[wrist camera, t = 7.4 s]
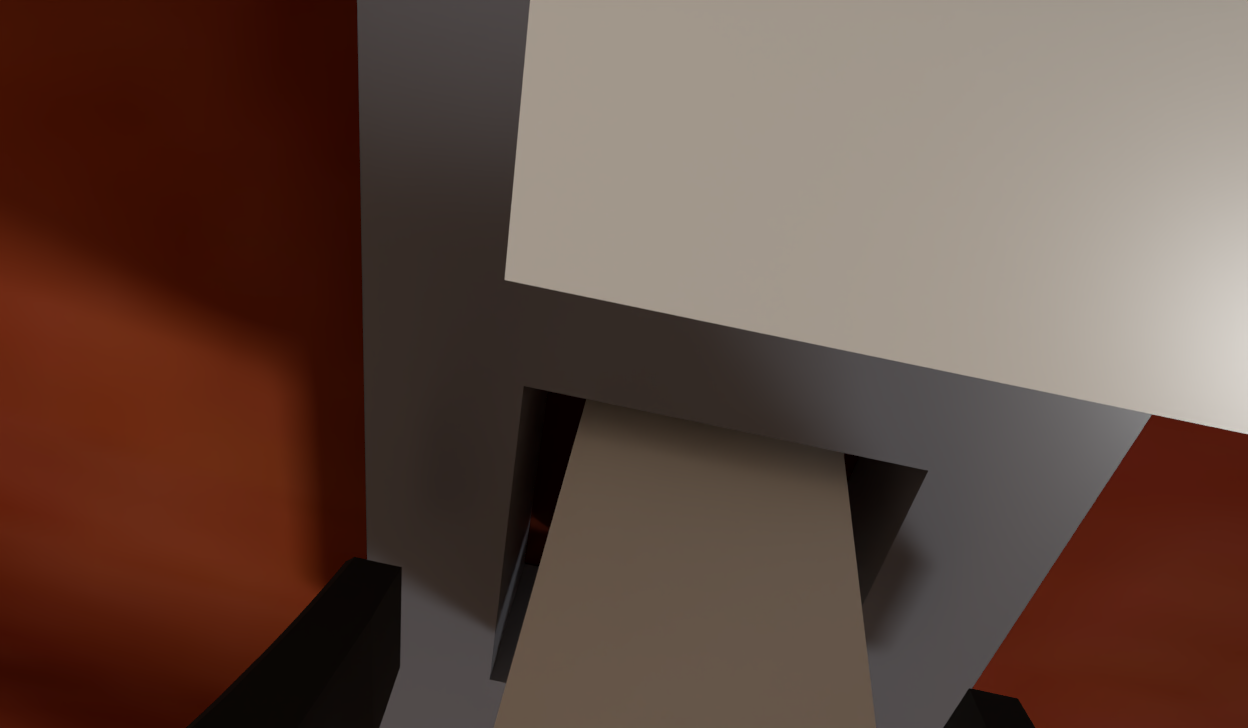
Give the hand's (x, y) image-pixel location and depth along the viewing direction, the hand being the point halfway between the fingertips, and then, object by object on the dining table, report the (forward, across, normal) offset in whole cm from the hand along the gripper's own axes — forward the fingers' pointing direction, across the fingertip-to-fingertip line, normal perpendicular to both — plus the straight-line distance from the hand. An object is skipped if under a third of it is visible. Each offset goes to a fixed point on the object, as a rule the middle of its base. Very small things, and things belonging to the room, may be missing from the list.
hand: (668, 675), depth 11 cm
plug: (+4, 0, 0) cm, 4 cm away
